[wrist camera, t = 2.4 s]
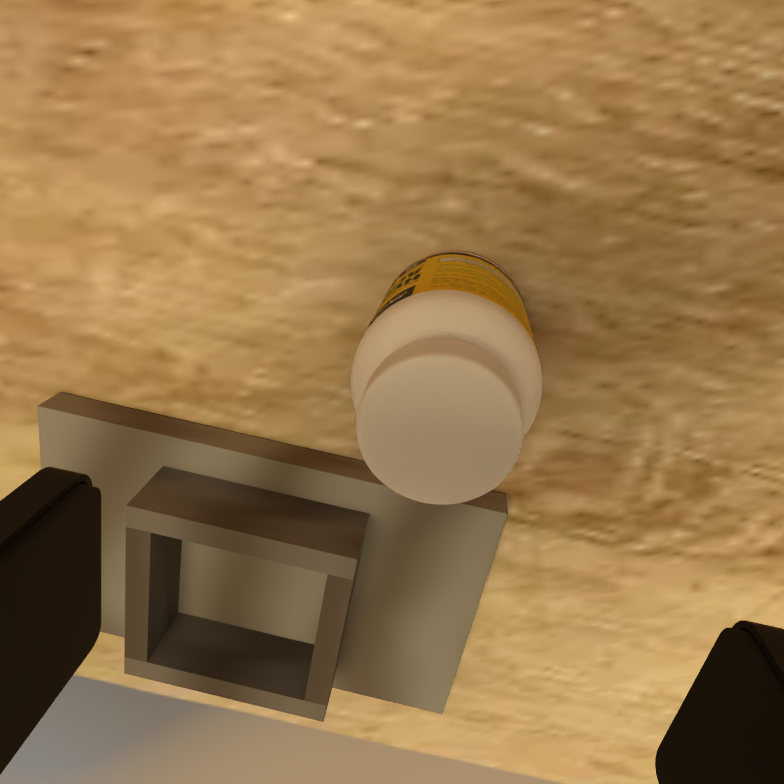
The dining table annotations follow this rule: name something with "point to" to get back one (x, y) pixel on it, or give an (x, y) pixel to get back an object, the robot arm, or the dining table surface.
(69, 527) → the robot arm
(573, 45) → the dining table surface
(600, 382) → the dining table surface
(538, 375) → the supplement bottle
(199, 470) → the collar board
